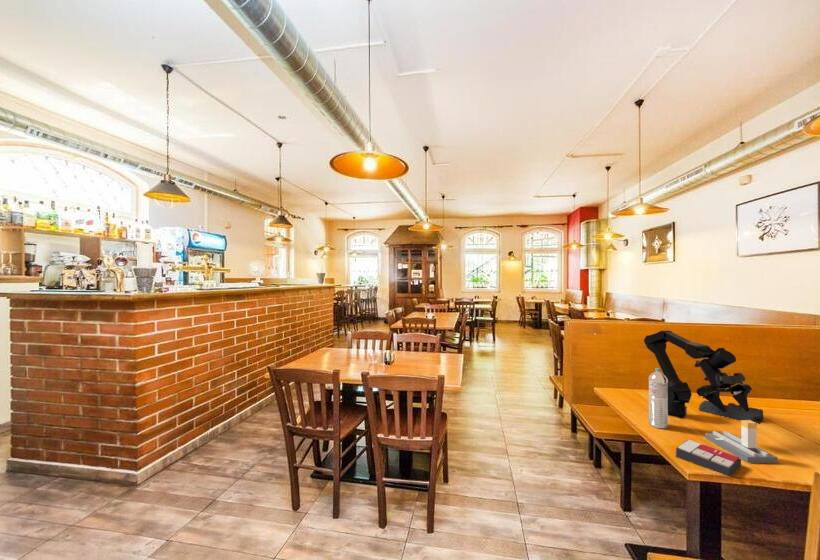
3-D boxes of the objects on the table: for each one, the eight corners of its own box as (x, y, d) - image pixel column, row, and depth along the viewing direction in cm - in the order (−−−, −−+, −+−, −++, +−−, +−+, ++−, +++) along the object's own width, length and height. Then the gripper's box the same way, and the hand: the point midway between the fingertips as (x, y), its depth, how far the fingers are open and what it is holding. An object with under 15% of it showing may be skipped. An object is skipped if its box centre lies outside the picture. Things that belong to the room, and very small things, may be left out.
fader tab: (740, 446, 125) (740, 419, 125) (749, 446, 125) (749, 419, 125) (748, 451, 122) (748, 423, 122) (757, 451, 122) (757, 423, 122)
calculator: (731, 467, 110) (675, 445, 123) (730, 479, 111) (675, 457, 123) (741, 457, 116) (688, 437, 129) (741, 469, 117) (687, 448, 129)
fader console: (705, 438, 137) (705, 430, 137) (731, 438, 136) (731, 430, 136) (747, 462, 119) (747, 454, 119) (777, 463, 118) (777, 454, 118)
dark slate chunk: (703, 403, 174) (703, 394, 174) (765, 417, 157) (765, 407, 157) (696, 411, 164) (696, 401, 164) (761, 426, 147) (761, 415, 147)
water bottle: (671, 429, 144) (671, 371, 144) (653, 428, 146) (653, 370, 145) (663, 423, 151) (662, 366, 151) (645, 421, 152) (645, 366, 152)
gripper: (706, 365, 134) (730, 406, 124) (750, 364, 135) (778, 404, 126) (686, 376, 143) (708, 415, 133) (728, 375, 144) (752, 413, 134)
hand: (736, 411), depth 131 cm, fingers open, 9 cm apart
